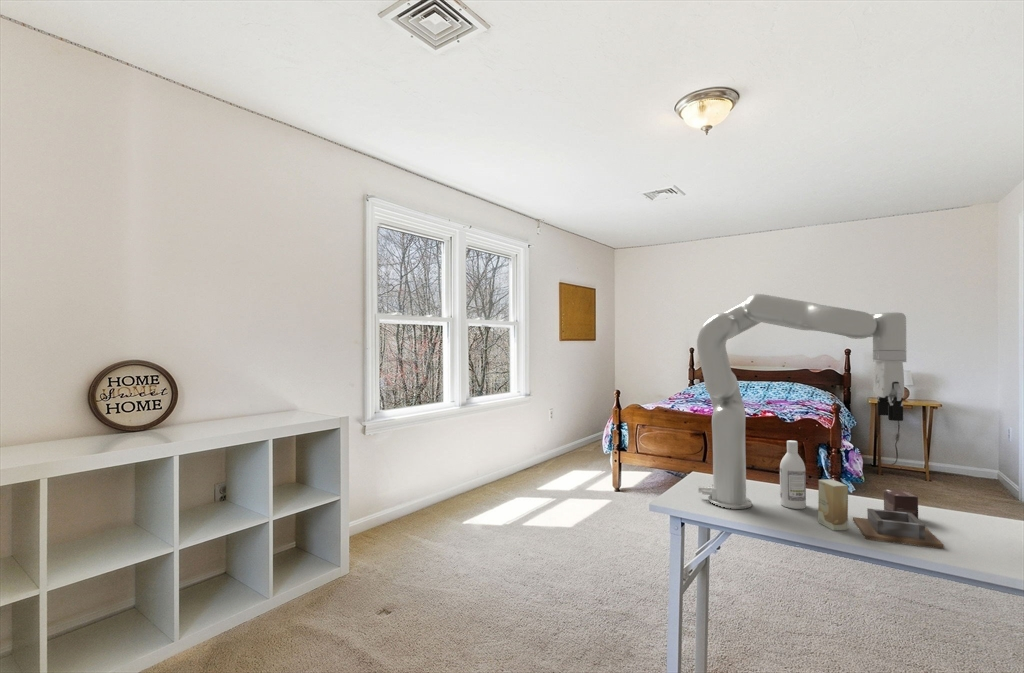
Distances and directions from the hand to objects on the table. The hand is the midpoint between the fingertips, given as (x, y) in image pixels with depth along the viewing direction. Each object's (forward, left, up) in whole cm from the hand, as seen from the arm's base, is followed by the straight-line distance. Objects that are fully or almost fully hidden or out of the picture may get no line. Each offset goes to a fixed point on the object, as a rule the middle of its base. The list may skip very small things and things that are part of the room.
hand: (889, 417), depth 140 cm
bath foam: (-23, +6, -30) cm, 38 cm away
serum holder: (-1, -9, -29) cm, 31 cm away
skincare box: (-15, -9, -30) cm, 35 cm away
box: (+4, +5, -30) cm, 30 cm away
